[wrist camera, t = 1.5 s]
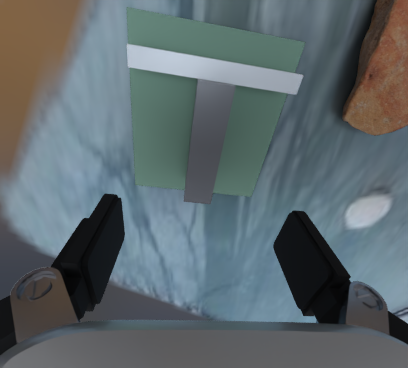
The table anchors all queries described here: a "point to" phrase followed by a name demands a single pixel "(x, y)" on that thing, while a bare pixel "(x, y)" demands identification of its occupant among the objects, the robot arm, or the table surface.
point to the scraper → (209, 105)
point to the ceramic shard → (382, 73)
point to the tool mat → (185, 96)
